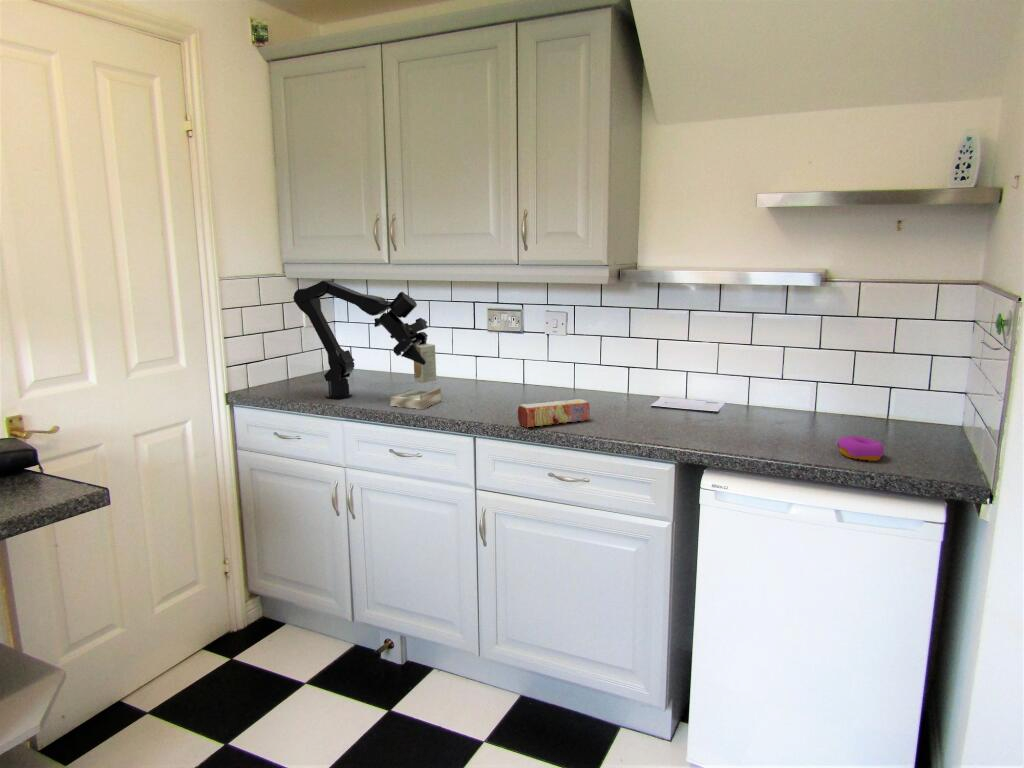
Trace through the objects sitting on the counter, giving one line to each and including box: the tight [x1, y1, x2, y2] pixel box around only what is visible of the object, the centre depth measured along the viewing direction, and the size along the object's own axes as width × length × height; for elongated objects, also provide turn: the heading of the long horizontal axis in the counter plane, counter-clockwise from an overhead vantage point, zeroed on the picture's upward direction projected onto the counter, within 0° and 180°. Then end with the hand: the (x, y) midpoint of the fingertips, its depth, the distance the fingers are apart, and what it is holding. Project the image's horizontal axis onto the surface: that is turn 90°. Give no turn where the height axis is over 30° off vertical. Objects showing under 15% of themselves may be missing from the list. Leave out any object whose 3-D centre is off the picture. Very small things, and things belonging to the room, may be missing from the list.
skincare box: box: [413, 343, 437, 384], centre depth 231 cm, size 6×4×12 cm
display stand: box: [389, 387, 442, 410], centre depth 228 cm, size 12×12×4 cm
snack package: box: [517, 398, 591, 429], centre depth 203 cm, size 21×7×7 cm, turn 115°
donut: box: [837, 435, 885, 462], centre depth 170 cm, size 10×10×5 cm
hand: (428, 361), depth 230 cm, fingers closed on skincare box, 7 cm apart
